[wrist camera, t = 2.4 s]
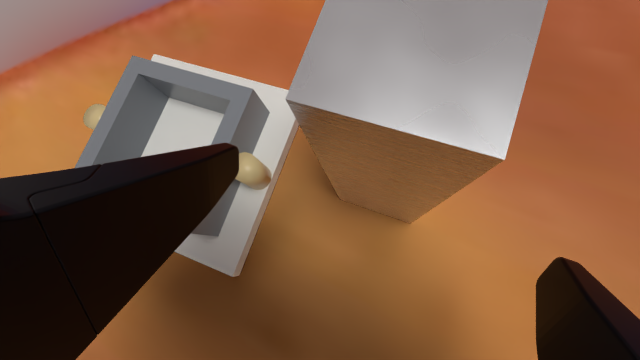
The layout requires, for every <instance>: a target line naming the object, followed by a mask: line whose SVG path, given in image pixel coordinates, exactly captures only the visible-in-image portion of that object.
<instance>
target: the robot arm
mask: <svg viewBox="0 0 640 360" xmlns="http://www.w3.org/2000/svg"><path fill="white" fill-rule="evenodd" d="M238 172H239V149H238V147H237V146H235V145H232V144H229V143H219V144H213V145H208V146H202V147H196V148H190V149H184V150H179V151H173V152H167V153H161V154H156V155H150V156H144V157H138V158H132V159H127V160H121V161H115V162H109V163H104V164H103V165H101V164H97V165H91V166H86V167H79V168H73V169H67V170H60V171H53V172H46V173H38V174H31V175H23V176H15V177H7V178H0V360H76V359H77V358H78V356H79V355H80V354H81V353H82V352H83V351H84V350H85V349H86V348H87V347H88V346H89V344H90V343H91V342H92V341H93V340H94V339H95V338H96V337H97V335H98V334H99V333H100V332H101V331H102V330H103V329H104V328H105V327H106V326H107V324H108V323H109V322H110V321H111V320H112V319H113V318H114V317H115V316H116V315H117V314H118V312H119V311H120V310H121V309H122V308H123V307H124V306H125V305H126V304H127V303H128V302H129V300H130V299H131V298H132V297H133V296H134V295H135V294H136V293H137V292H138V291H139V290H140V288H141V287H142V286H143V285H144V284H145V283H146V282H147V281H148V280H149V279H150V278H151V276H152V275H153V274H154V273H155V272H156V271H157V270H158V269H159V268H160V267H161V265H162V264H163V263H164V262H165V261H166V260H167V259H168V258H169V257H170V256H171V255H172V253H173V252H174V251H175V250H176V249H177V248H178V247H179V246H180V245H181V244H182V243H183V241H184V240H185V239H186V238H187V237H188V236H189V235H190V234H191V233H192V232H193V231H194V229H195V228H196V227H197V226H198V225H199V224H200V223H201V222H202V221H203V220H204V219H205V217H206V216H207V215H208V214H209V213H210V212H211V210H212V209H213V208H214V207H215V205H216V204H217V203H218V201H219V200H220V199H221V197H222V196H223V194H224V193H225V192H226V190H227V189H228V188H229V186H230V185H231V183H232V182H233V181H234V179H235V178H236V176H237V175H238ZM536 345H537V355H538V360H640V319H638V318H637V317H636V316H635V315H634V314H633V313H632V312H631V311H630V310H629V309H628V308H627V307H626V306H625V305H623V304H622V303H621V302H620V301H619V300H618V299H617V298H616V297H615V296H614V295H613V294H612V293H611V292H610V291H608V290H607V289H606V288H605V287H604V286H603V285H602V284H601V283H600V282H599V281H598V280H597V279H596V278H595V277H593V276H592V275H591V274H590V273H589V272H588V271H587V270H586V269H585V268H584V267H583V266H582V265H581V264H579V263H577V262H575V261H572V260H569V259H566V258H563V257H558V258H556V259H555V260H553V262H552V263H551V264H550V265H549V266H548V267H547V268H546V270H545V271H544V272H543V273H542V274H541V275H540V277H539V278H538V280H537V283H536Z"/></svg>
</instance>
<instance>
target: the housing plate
mask: <svg viewBox="0 0 640 360" xmlns="http://www.w3.org/2000/svg"><path fill="white" fill-rule="evenodd" d="M288 91H289V90H285V89H282V88H278V87H274V86H271V85H267V84H263V83H260V82H256V81H252V80H248V79H245V78H241V77H237V76H234V75H230V74H226V73H222V72H219V71H215V70H211V69H208V68H204V67H200V66H197V65H193V64H189V63H185V62H182V61H178V60H174V59H171V58H167V57H163V56H159V55H156V54H154V55H153V57H152V59H151V61H150V60H147V59H143V58H140V57H136V56H132V57H131V59H130V61H129V63H128V65H127V67H126V69H125V71H124V73H123V75H122V77H121V79H120V81H119V83H118V85H117V86H116V88H115V90H114V92H113V94H112V96H111V98H110V100H109V102H108V104H107V106H106V107H105V106H104V105H101V104H94V105H92V106H90V107H89V108H88V109H87V110H86V112H85V114H84V118H83V120H84V124H85V125H86V126H87V127H89V128H91V129H93V130H94V131H93V133H92V135H91V137H90V139H89V141H88V143H87V145H86V147H85V149H84V151H83V153H82V155H81V157H80V158H79V160H78V162H77V164H76V166H75V168H79V167H86V166H91V165H97V164H101V165H103V164H104V163H109V162H115V161H121V160H127V159H132V158H138V157H144V156H150V155H156V154H161V153H167V152H173V151H179V150H184V149H190V148H196V147H202V146H208V145H213V144H219V143H229V144H232V145H235V146H237V147H238V149H239V172H238V175H237V176H236V178H235V179H234V181H233V182H232V183H231V185H230V186H229V188H228V189H227V190H226V192H225V193H224V194H223V196H222V197H221V199H220V200H219V201H218V203H217V204H216V205H215V207H214V208H213V209H212V210H211V212H210V213H209V214H208V215H207V216H206V217H205V219H204V220H203V221H202V222H201V223H200V224H199V225H198V226H197V227H196V228H195V229H194V231H193V232H192V233H191V234H190V235H189V236H188V237H187V238H186V239H185V240H184V241H183V243H182V244H181V245H180V246H179V247H178V248H177V249H176V250H175V251H174V252H176V253H179V254H181V255H183V256H185V257H188V258H190V259H192V260H195V261H197V262H199V263H202V264H204V265H206V266H209V267H211V268H213V269H215V270H218V271H220V272H222V273H225V274H227V275H229V276H232V277H235V276H239V275H240V273H241V270H242V268H243V265H244V263H245V260H246V258H247V255H248V253H249V250H250V248H251V245H252V243H253V240H254V237H255V235H256V232H257V230H258V227H259V225H260V222H261V220H262V217H263V215H264V212H265V210H266V207H267V205H268V202H269V200H270V197H271V195H272V192H273V190H274V187H275V184H276V182H277V179H278V177H279V174H280V172H281V169H282V167H283V164H284V162H285V159H286V157H287V154H288V152H289V149H290V147H291V144H292V142H293V139H294V137H295V134H296V131H297V129H298V126H299V123H298V121H297V120H296V118H295V116H294V114H293V112H292V110H291V109H290V107H289V105H288V103H287V101H286V99H285V98H286V96H287V94H288Z"/></svg>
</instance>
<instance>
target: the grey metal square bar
mask: <svg viewBox="0 0 640 360" xmlns="http://www.w3.org/2000/svg"><path fill="white" fill-rule="evenodd" d="M547 2H548V0H326V1H325V3H324V6H323V8H322V11H321V13H320V16H319V18H318V20H317V23H316V25H315V28H314V30H313V33H312V35H311V38H310V40H309V42H308V45H307V47H306V50H305V52H304V55H303V57H302V59H301V62H300V64H299V67H298V69H297V72H296V74H295V77H294V79H293V81H292V84H291V86H290V89H289V91H288V94H287V96H286V98H285V99H286V101H287V103H288V105H289V107H290V109H291V110H292V112H293V114H294V116H295V118H296V120H297V121H298V123H299V125H300V127H301V129H302V131H303V132H304V134H305V136H306V138H307V140H308V142H309V143H310V145H311V147H312V149H313V151H314V153H315V154H316V156H317V158H318V160H319V162H320V164H321V165H322V167H323V169H324V171H325V173H326V175H327V176H328V178H329V180H330V182H331V184H332V186H333V187H334V189H335V191H336V193H337V195H338V197H339V198H340V200H343V201H346V202H349V203H352V204H355V205H358V206H361V207H364V208H367V209H370V210H373V211H376V212H378V213H381V214H384V215H387V216H390V217H393V218H396V219H399V220H402V221H405V222H408V223H412V222H414V221H415V220H417V219H418V218H420V217H421V216H422V215H424V214H425V213H427V212H428V211H430V210H431V209H433V208H434V207H436V206H437V205H439V204H440V203H442V202H443V201H445V200H446V199H448V198H449V197H451V196H452V195H453V194H455V193H456V192H458V191H459V190H461V189H462V188H464V187H465V186H467V185H468V184H470V183H471V182H473V181H474V180H476V179H477V178H479V177H480V176H482V175H483V174H485V173H486V172H487V171H489V170H490V169H492V168H493V167H495V166H496V165H498V164H499V163H501V162H502V161H504V160H505V157H506V153H507V150H508V146H509V142H510V138H511V135H512V131H513V127H514V124H515V120H516V116H517V113H518V109H519V105H520V102H521V98H522V94H523V91H524V87H525V83H526V79H527V76H528V72H529V68H530V65H531V61H532V57H533V54H534V50H535V46H536V43H537V39H538V35H539V32H540V28H541V24H542V20H543V17H544V13H545V9H546V6H547Z"/></svg>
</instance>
